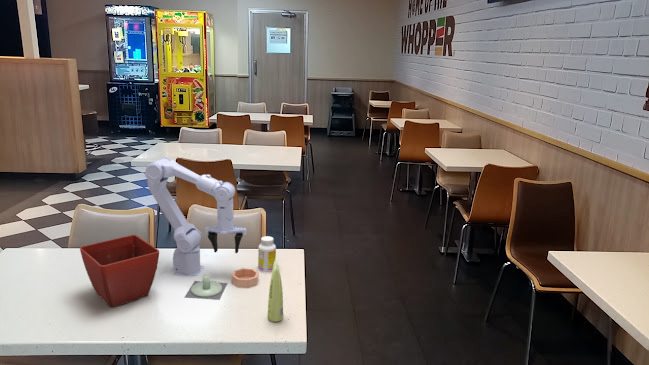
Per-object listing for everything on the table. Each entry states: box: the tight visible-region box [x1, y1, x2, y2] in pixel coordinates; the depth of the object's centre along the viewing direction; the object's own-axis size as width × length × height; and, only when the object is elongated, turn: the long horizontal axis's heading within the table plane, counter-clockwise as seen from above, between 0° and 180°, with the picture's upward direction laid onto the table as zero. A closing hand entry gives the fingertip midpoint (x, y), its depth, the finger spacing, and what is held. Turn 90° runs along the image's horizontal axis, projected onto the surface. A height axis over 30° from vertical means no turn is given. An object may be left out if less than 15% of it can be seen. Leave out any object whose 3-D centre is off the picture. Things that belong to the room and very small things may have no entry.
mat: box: [184, 280, 228, 301], centre depth 171 cm, size 12×12×1 cm
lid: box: [190, 274, 222, 297], centre depth 170 cm, size 10×10×5 cm
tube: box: [267, 256, 284, 323], centre depth 154 cm, size 6×5×20 cm
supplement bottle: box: [257, 235, 277, 273], centre depth 188 cm, size 7×7×13 cm
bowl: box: [231, 267, 260, 289], centre depth 178 cm, size 9×9×4 cm
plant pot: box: [79, 234, 160, 308], centre depth 164 cm, size 19×19×17 cm
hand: (226, 251), depth 180 cm, fingers open, 7 cm apart
